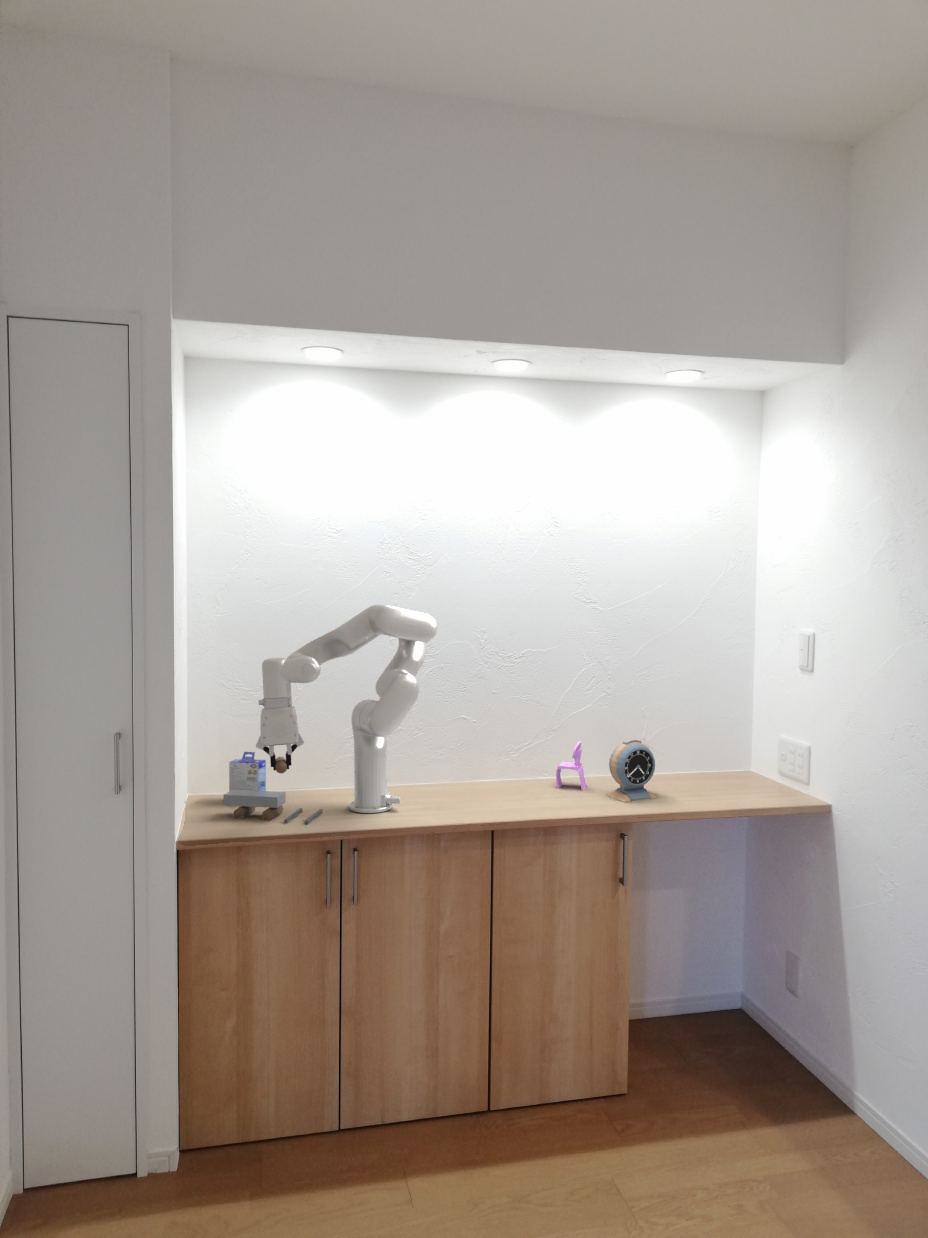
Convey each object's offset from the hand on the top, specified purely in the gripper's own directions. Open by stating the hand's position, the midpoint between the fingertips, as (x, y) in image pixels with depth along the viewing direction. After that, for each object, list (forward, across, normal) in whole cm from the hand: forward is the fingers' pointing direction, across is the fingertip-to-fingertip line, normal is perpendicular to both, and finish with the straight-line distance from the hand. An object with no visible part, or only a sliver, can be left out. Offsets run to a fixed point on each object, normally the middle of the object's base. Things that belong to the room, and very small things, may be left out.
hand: (281, 768), depth 243 cm
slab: (+11, -8, +6) cm, 15 cm away
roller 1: (+14, -12, +8) cm, 20 cm away
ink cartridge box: (+15, -10, +24) cm, 30 cm away
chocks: (+15, +6, +1) cm, 16 cm away
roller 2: (+15, -3, +4) cm, 16 cm away
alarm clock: (+19, +104, +2) cm, 106 cm away
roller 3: (0, 0, 0) cm, 0 cm away
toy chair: (+18, +91, +18) cm, 94 cm away
